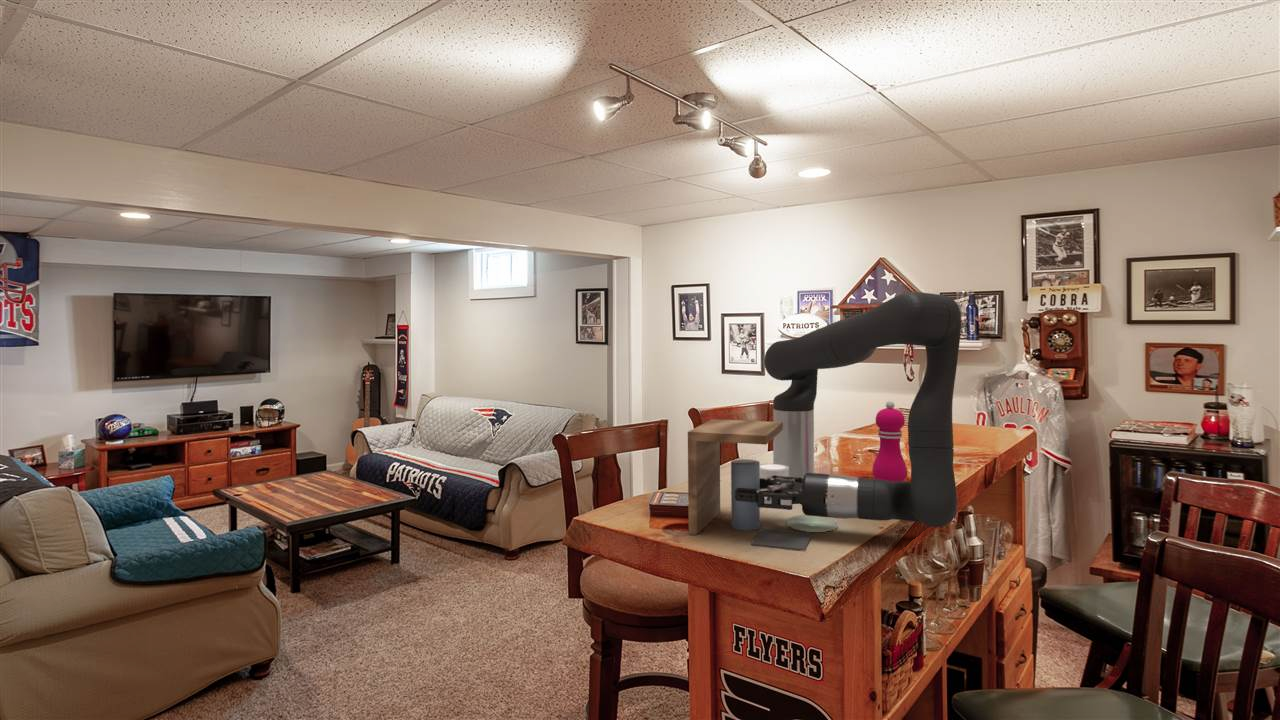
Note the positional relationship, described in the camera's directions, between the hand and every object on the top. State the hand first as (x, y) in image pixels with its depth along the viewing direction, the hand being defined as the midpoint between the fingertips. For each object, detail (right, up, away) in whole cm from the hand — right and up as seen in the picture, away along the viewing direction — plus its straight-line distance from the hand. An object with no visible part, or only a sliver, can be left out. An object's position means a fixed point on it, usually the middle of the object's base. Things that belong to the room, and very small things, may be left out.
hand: (740, 488), depth 124 cm
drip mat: (+6, -7, -8) cm, 12 cm away
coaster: (+13, -7, 0) cm, 15 cm away
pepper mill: (+36, -5, +23) cm, 43 cm away
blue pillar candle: (+1, -7, 0) cm, 7 cm away
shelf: (-1, -7, +1) cm, 7 cm away
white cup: (+10, -6, +19) cm, 22 cm away
